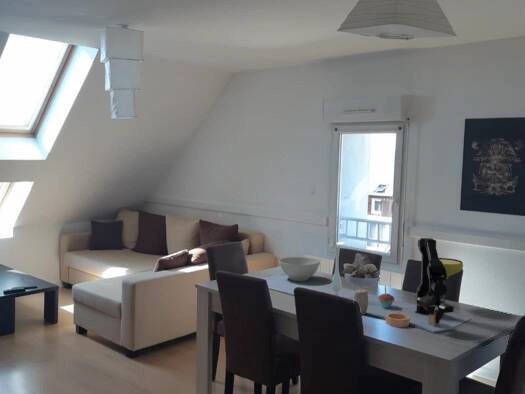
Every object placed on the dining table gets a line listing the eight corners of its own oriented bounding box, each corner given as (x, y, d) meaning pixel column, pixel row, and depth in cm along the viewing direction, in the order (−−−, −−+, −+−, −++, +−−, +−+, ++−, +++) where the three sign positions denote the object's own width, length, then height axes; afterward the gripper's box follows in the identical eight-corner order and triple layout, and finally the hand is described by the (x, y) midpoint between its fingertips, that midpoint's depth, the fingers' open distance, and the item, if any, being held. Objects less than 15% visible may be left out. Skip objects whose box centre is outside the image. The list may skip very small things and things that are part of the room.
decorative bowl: (270, 279, 359) (271, 261, 358) (292, 272, 380) (292, 255, 380) (306, 285, 343) (306, 266, 342) (326, 278, 365) (327, 260, 364)
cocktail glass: (468, 307, 299) (469, 262, 297) (447, 312, 289) (449, 265, 287) (440, 299, 314) (441, 256, 312) (419, 304, 304) (421, 259, 301)
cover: (434, 321, 271) (434, 309, 271) (454, 328, 260) (454, 316, 259) (414, 324, 265) (414, 312, 265) (433, 332, 254) (434, 320, 253)
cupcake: (390, 309, 293) (391, 287, 292) (375, 307, 297) (376, 285, 296) (396, 306, 300) (396, 284, 299) (381, 303, 305) (381, 282, 304)
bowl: (398, 319, 275) (399, 312, 275) (414, 326, 265) (414, 318, 265) (381, 322, 270) (381, 314, 270) (396, 329, 261) (396, 320, 260)
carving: (367, 315, 282) (368, 292, 281) (353, 314, 284) (353, 291, 283) (367, 311, 289) (368, 289, 288) (353, 310, 290) (353, 288, 289)
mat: (434, 321, 273) (434, 320, 273) (457, 330, 259) (457, 329, 259) (410, 325, 266) (410, 324, 266) (433, 335, 253) (433, 334, 253)
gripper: (408, 287, 266) (407, 319, 267) (436, 296, 249) (435, 330, 250) (426, 285, 271) (425, 316, 272) (455, 294, 254) (453, 327, 255)
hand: (434, 322), depth 262 cm, fingers closed on cover, 4 cm apart
